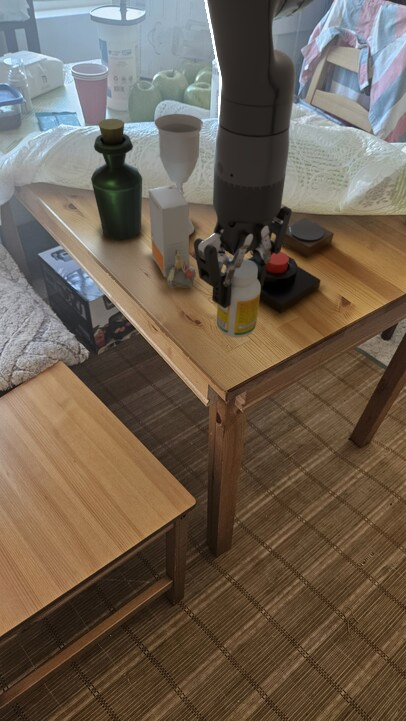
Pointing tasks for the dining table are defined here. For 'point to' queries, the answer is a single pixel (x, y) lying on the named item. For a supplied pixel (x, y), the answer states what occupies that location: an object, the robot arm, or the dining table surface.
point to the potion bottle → (117, 183)
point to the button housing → (287, 287)
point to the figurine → (180, 273)
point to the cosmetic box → (168, 226)
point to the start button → (278, 263)
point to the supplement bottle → (241, 303)
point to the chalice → (179, 147)
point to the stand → (307, 237)
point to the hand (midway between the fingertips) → (239, 293)
